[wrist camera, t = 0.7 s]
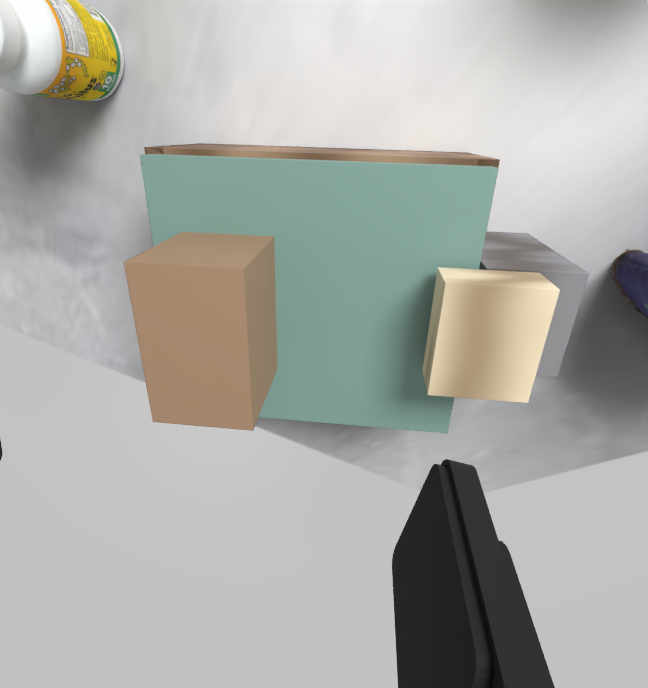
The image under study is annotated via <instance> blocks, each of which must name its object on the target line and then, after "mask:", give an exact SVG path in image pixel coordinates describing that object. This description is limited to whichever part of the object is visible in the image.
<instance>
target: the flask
mask: <svg viewBox="0 0 648 688" xmlns="http://www.w3.org/2000/svg"><path fill="white" fill-rule="evenodd" d="M612 274H613V276H614V280H615V282H616V284H617V285H618V286H619V288H620V289H621V291H622V292H623V295H624V296H626V297H627V300H628V301H629V302H630V303H631V304H632V305H633V306H634V307H635V308H636V310H638V311H639V312H641V313H643V314H644V315H645V316H646V317H647V318H648V254H647V253H645V252H644V251H641V250H629V249H627V250H626V252H624V253H623V254H621V255H620V256H619V257H617V258H616V259H615V261H614V263H613V264H612Z"/></svg>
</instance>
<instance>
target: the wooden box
mask: <svg viewBox="0 0 648 688" xmlns="http://www.w3.org/2000/svg"><path fill="white" fill-rule="evenodd" d="M144 148H145V154H170V155H197V156H225V157H252V158H280V159H307V160H335V161H362V162H390V163H417V164H445V165H472V166H493V167H497V168H498V166H499V161H500V160H498V159H494V158H489V157H485V156H480V155H475V154H471V153H462V152H432V151H403V150H374V149H345V148H315V147H286V146H257V145H227V144H186V145H171V146H156V147H144ZM479 270H497V271H516V272H534V273H541V274H542V275H543V276H544V277H545V278H547V279H548V280H549V281H550V282H551V283H552V284H554V285H555V286H556V287H557V288H558V289H560V292H559V296H558V299H557V303H556V306H555V310H554V313H553V317H552V320H551V324H550V327H549V331H548V334H547V338H546V341H545V345H544V348H543V352H542V355H541V359H540V362H539V366H538V369H537V373H536V376H546V377H557V376H558V373H559V369H560V366H561V363H562V360H563V357H564V353H565V350H566V347H567V344H568V341H569V337H570V334H571V331H572V328H573V325H574V321H575V318H576V315H577V312H578V309H579V305H580V302H581V299H582V296H583V293H584V289H585V286H586V283H587V280H588V277H589V273H587V272H586V271H584V270H583V269H581V268H580V267H578V266H577V265H575V264H574V263H572V262H570V261H569V260H567V259H566V258H564V257H563V256H561V255H560V254H558V253H557V252H555V251H554V250H552V249H551V248H549V247H547V246H546V245H544V244H543V243H541V242H540V241H538V240H537V239H535V238H534V237H532V236H531V235H529V234H525V233H504V232H486V235H485V241H484V246H483V251H482V256H481V261H480V266H479Z"/></svg>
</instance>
